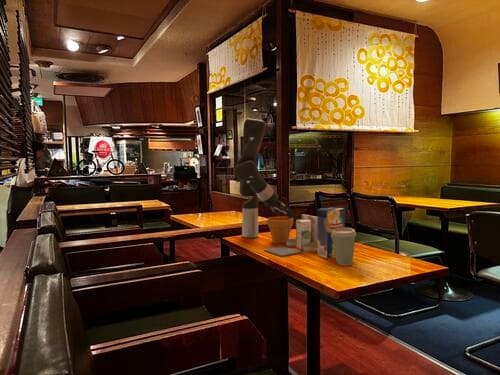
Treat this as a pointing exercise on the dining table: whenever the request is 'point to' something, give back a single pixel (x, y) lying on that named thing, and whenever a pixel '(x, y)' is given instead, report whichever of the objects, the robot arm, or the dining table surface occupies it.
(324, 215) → the beverage box
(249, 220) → the robot arm
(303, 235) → the syrup box
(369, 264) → the dining table surface
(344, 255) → the disposable coffee cup
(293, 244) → the cubby
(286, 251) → the mat
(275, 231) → the flower pot
